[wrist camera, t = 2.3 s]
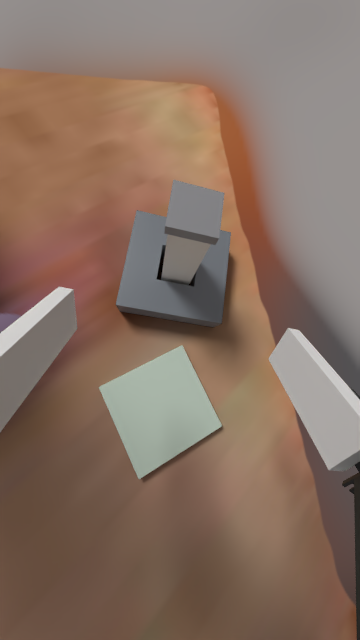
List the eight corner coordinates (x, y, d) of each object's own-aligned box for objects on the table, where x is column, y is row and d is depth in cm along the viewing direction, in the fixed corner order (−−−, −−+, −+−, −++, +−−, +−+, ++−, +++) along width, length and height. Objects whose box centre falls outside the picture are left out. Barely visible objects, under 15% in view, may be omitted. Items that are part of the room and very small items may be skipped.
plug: (157, 286, 29) (165, 225, 16) (162, 259, 30) (173, 179, 17) (187, 292, 30) (219, 238, 16) (191, 265, 31) (224, 193, 17)
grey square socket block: (119, 311, 28) (115, 304, 24) (138, 226, 31) (136, 210, 27) (213, 327, 29) (221, 323, 26) (222, 245, 32) (230, 232, 29)
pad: (100, 386, 25) (98, 387, 25) (181, 345, 28) (182, 345, 27) (139, 474, 24) (138, 479, 23) (219, 423, 27) (222, 426, 26)
